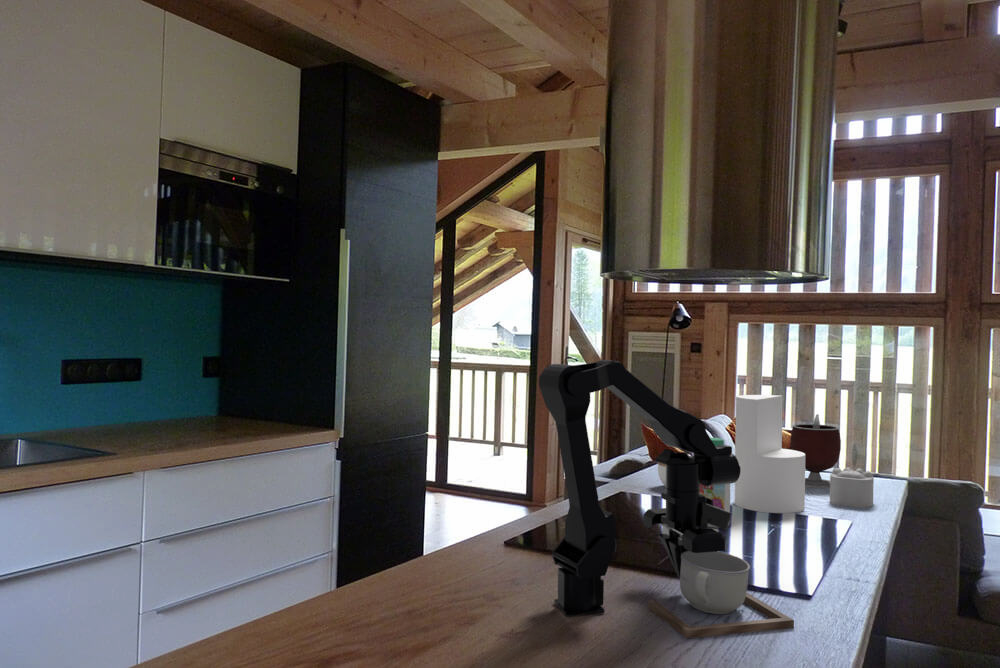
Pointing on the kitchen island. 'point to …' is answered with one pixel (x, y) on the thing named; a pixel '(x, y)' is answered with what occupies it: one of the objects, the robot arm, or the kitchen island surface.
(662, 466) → the lidded jar
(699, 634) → the frame
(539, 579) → the kitchen island surface
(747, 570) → the teacup
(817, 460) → the mate gourd
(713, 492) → the milk bottle
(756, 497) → the white stepped block
